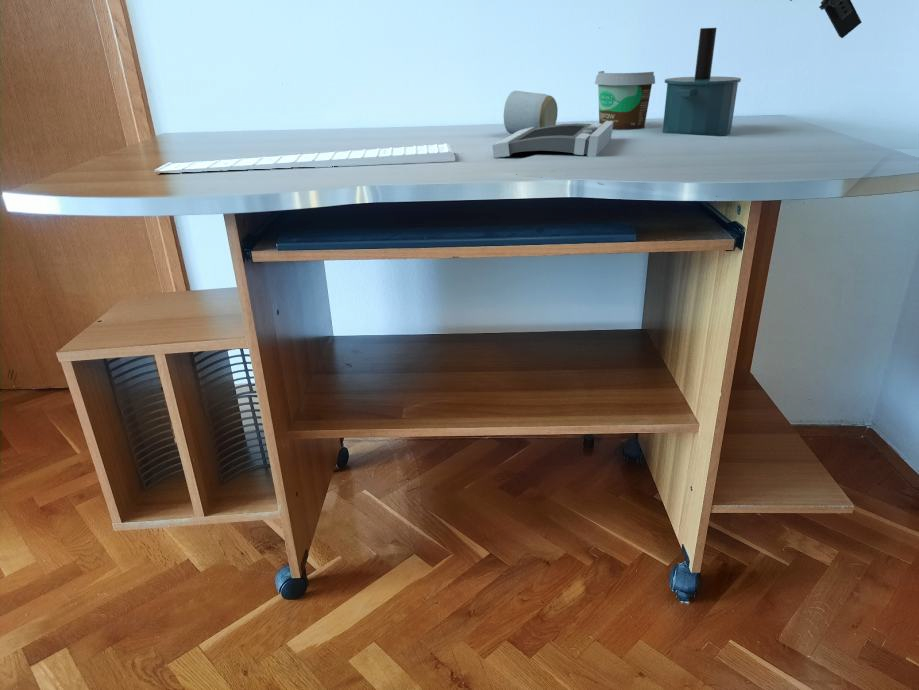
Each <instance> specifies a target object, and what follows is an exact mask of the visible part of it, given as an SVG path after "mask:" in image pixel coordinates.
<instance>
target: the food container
mask: <svg viewBox="0 0 919 690" xmlns="http://www.w3.org/2000/svg"><path fill="white" fill-rule="evenodd" d="M654 73H655V72H654V71H645V72H605V70H600V71H598V72H597V75H596V76H595V79H594V84H595V85H597V89H598V92H597V94H598V123H599V124H603V123H604V122H606V121H613V128H612V130H639V129H644V128H645V126H646V122H647V121H646V120H647V115H648V108H649V103H650V98H651V92H652V86H653V85H655V84H656V77H655V76H656V75H654Z"/></svg>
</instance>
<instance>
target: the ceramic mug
mask: <svg viewBox="0 0 919 690" xmlns="http://www.w3.org/2000/svg"><path fill="white" fill-rule="evenodd" d="M557 120H558V103H557V101H556V99H555V97H554V96H552V95H549V94H546V93H540V92H529V91H523V90H512V91H511V92H510V93H509V94H508V96H507V98H506V100H505V103H504V107H503V124H504V125H503V126H504V128H505V131H506V132H507V133H508V134H510V135H512V134H514V133H515V132H517V131H519V130H522V129H526V128H531V127H534V129H536V128H541V127H546V126H553V125H557Z"/></svg>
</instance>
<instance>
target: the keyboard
mask: <svg viewBox="0 0 919 690" xmlns="http://www.w3.org/2000/svg"><path fill="white" fill-rule="evenodd" d="M443 162H444V163H447V162H448V163H449V162H456V156H455V153H454V151H453V149H452V146H451V145H450V144H448V143H447V142H444V144H437V143H435V144H424V145H415V144H414V145H413V146H404V145H403V146H402V147H392V146H390V147H388V148H380V147H377V148H374V149H367V148H364V149H359V150H358V149H357V150H351V149H349V150H347V151H346V150H345V151H344V150H343V151H336V150H334V151H333V152H331V151H329V152H316V153H304V154H302V153H299V154H289V155H284V154H281V155H276V156H264V155H262V156H261V157H260V156H259V157H248V158H243V157H240V158H234V159H233V158H232V159H217V160H206V161H196V160H194V161H192V162H177V163H172V162H171V161H169V162H167V163H165V164H163V165H161V166H159V167H157V168H155V169H154V173H155V172H180V171H197V170H219V169H220V170H221V169H259V168H291V167H315V168H335V167H334V166H338V167H357V166H377V165H378V166H379V165H381V166H382V165H383V166H384V165H402V164H403V165H404V164H426V163H428V164H429V163H443ZM332 166H333V167H332Z"/></svg>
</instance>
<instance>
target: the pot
mask: <svg viewBox="0 0 919 690" xmlns="http://www.w3.org/2000/svg"><path fill="white" fill-rule="evenodd" d="M738 85H739V82H738V83H730V84H711V85H682V84H668V83H666V94H665V104H664V113H663V122H662V123H663V124H662V134H673V135H690V136H691V135H692V136H704V137H705V136H706V137H707V136H708V137H723V136H728V135H730V134H731V131H732V127H733V120H734V113H735V108H736V107H735V106H736V99H737V91H738V87H739V86H738Z"/></svg>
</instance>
